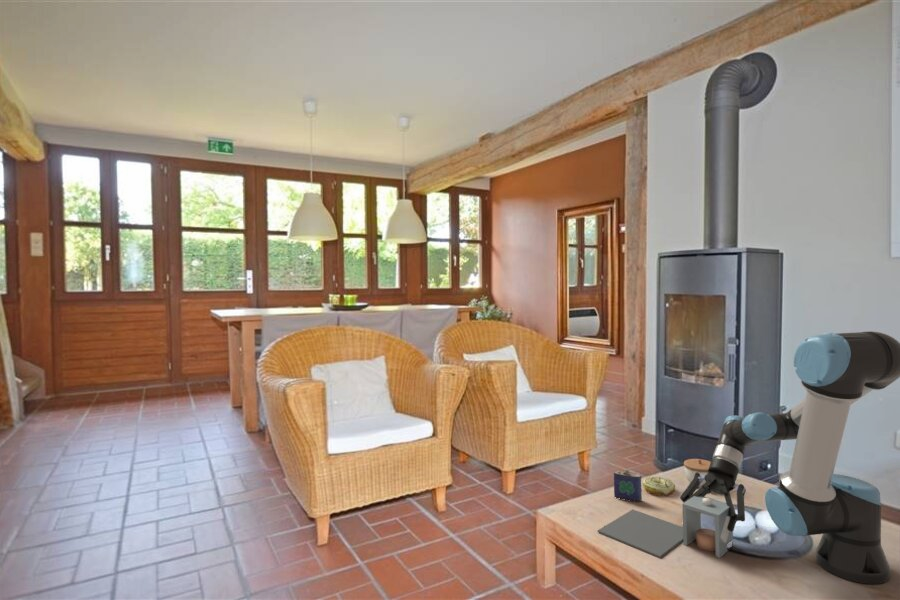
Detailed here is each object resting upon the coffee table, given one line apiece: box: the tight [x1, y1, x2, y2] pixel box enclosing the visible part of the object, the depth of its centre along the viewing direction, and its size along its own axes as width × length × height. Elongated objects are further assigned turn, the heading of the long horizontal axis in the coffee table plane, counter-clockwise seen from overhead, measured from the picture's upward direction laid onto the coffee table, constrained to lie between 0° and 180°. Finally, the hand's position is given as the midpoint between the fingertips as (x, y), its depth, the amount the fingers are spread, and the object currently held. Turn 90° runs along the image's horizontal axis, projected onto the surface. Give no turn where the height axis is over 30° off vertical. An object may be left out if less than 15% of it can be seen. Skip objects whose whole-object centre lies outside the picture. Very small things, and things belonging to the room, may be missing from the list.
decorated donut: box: [642, 476, 676, 496], centre depth 184 cm, size 10×11×4 cm
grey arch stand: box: [682, 495, 734, 559], centre depth 146 cm, size 10×9×13 cm
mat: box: [597, 508, 683, 559], centre depth 155 cm, size 20×20×1 cm
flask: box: [613, 468, 643, 503], centre depth 178 cm, size 9×3×11 cm, turn 61°
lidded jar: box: [683, 458, 711, 489], centre depth 187 cm, size 11×11×9 cm
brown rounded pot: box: [695, 528, 716, 552], centre depth 146 cm, size 6×6×4 cm
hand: (703, 533), depth 144 cm, fingers closed on grey arch stand, 10 cm apart
